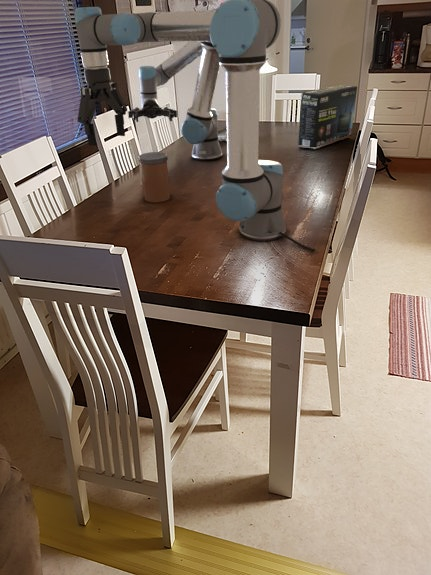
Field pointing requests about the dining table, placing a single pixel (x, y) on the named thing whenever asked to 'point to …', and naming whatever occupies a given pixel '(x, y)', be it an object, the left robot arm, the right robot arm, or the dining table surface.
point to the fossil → (222, 137)
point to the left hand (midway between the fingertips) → (154, 118)
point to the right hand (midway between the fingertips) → (107, 140)
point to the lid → (153, 158)
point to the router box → (326, 115)
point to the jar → (155, 182)
